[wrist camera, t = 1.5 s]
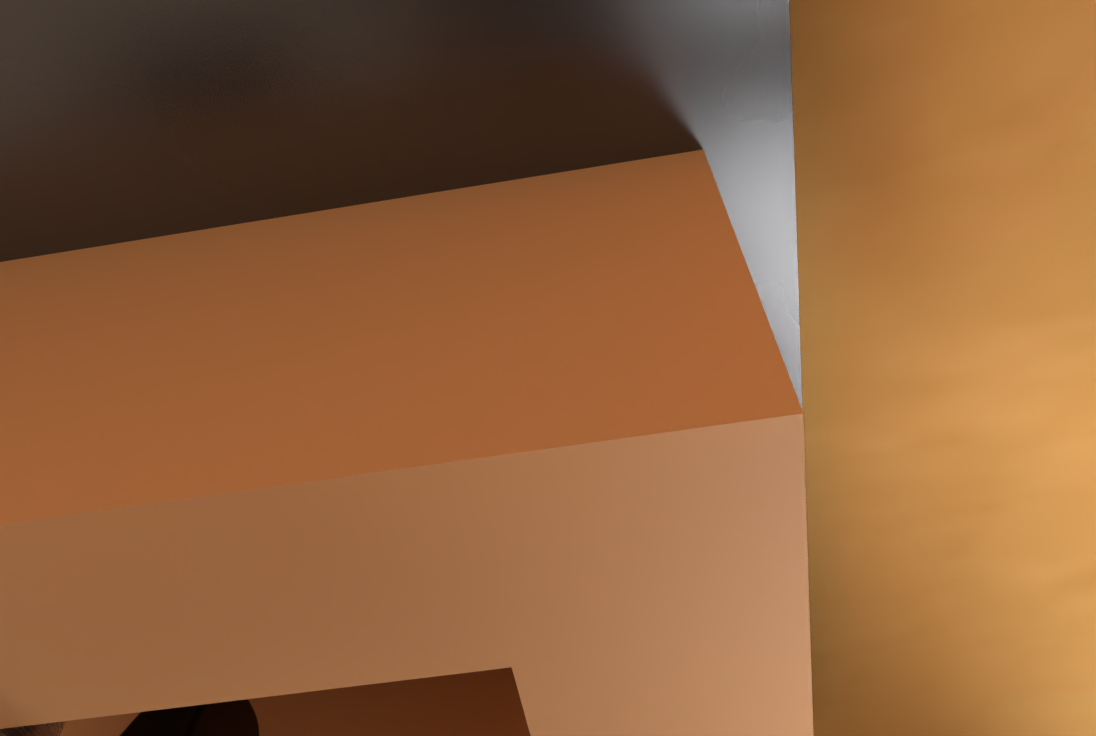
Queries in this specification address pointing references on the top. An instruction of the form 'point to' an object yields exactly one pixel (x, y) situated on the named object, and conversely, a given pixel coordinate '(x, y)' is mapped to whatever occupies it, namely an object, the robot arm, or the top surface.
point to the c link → (410, 471)
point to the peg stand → (382, 114)
